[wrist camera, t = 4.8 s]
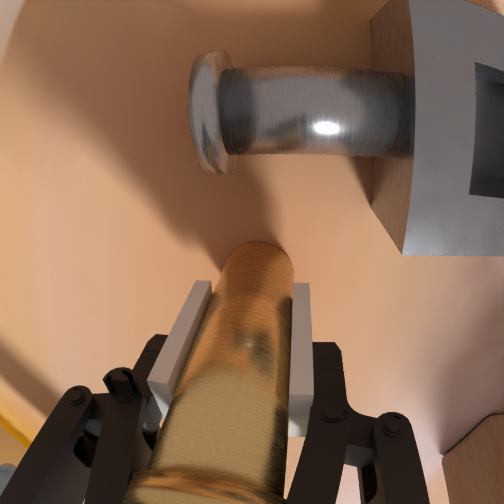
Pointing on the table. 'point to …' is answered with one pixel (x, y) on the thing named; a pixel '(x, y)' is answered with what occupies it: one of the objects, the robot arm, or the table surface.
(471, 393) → the table surface
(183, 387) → the valve handle
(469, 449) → the wooden block
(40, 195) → the table surface
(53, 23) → the table surface
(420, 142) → the valve body
